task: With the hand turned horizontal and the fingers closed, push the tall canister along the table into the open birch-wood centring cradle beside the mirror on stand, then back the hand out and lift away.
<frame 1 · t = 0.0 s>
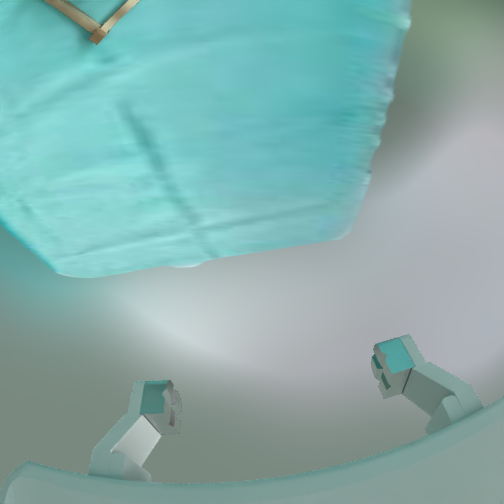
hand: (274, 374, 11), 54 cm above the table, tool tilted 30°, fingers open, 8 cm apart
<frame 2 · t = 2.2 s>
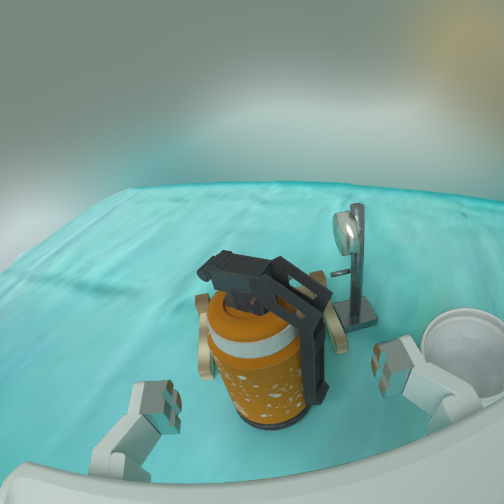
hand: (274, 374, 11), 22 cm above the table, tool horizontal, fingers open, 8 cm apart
ramekin: (455, 385, 28), on the table
canister: (282, 403, 33), on the table
mirror on stand: (354, 316, 42), on the table
cradle: (271, 347, 40), on the table
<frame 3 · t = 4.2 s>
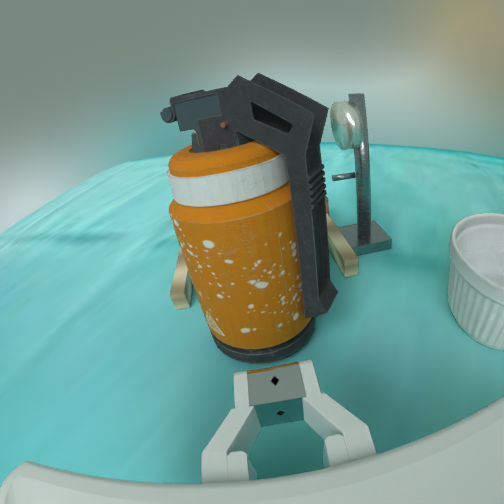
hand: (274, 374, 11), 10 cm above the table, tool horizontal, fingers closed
ramekin: (497, 311, 21), on the table
canister: (275, 332, 26), on the table
mirror on stand: (364, 241, 35), on the table
cradle: (263, 272, 34), on the table
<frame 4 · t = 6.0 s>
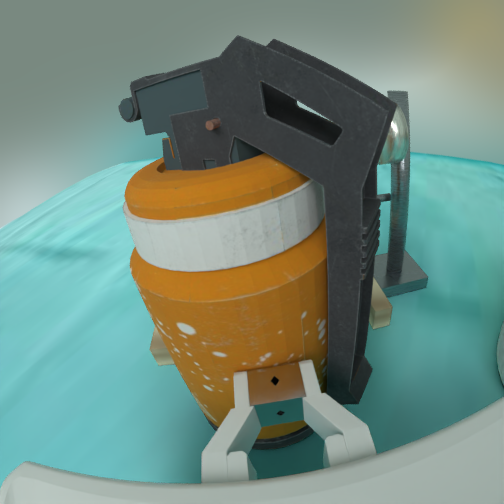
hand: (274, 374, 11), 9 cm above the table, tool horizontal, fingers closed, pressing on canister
canister: (282, 402, 19), on the table, touching gripper
mirror on stand: (393, 277, 28), on the table
cradle: (269, 318, 26), on the table
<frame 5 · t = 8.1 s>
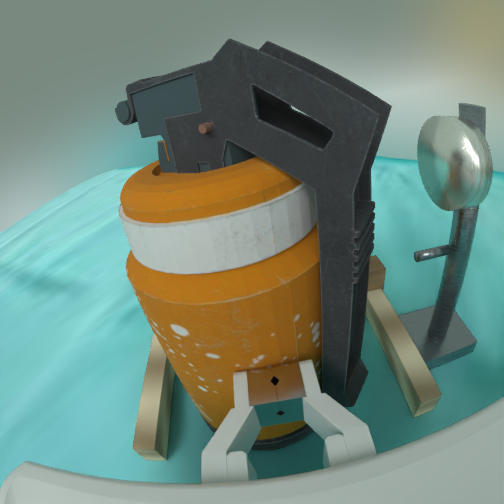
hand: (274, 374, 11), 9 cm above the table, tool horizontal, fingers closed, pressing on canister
canister: (279, 403, 19), on the table, touching gripper
mirror on stand: (434, 339, 20), on the table
cradle: (284, 402, 19), on the table
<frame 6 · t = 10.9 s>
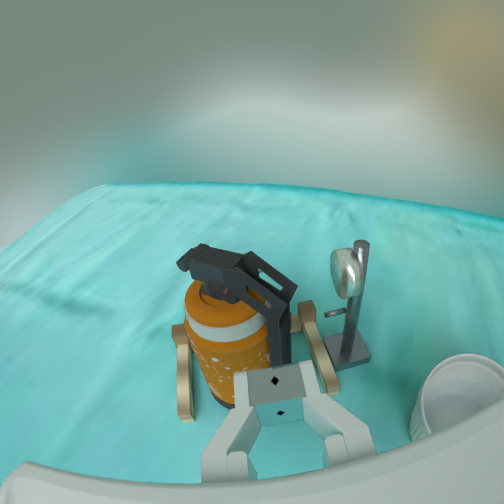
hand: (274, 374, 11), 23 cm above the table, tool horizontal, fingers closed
ramekin: (449, 429, 26), on the table
canister: (253, 386, 36), on the table
mirror on stand: (345, 352, 38), on the table
cradle: (255, 386, 36), on the table
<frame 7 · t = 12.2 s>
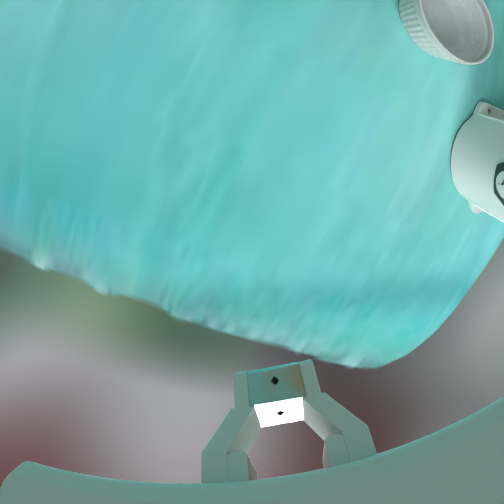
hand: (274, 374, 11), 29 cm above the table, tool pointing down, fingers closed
ramekin: (429, 20, 26), on the table
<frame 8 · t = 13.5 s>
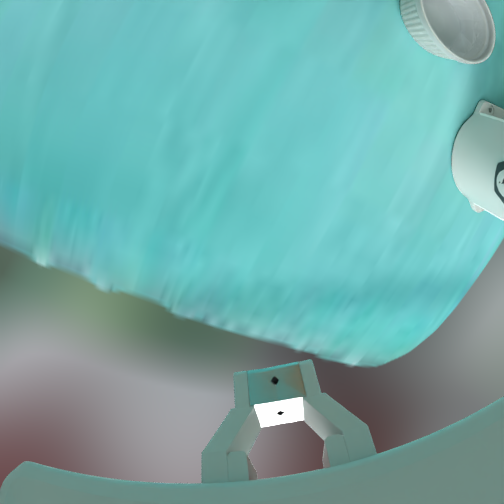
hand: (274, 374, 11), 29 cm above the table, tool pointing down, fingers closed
ramekin: (430, 19, 26), on the table
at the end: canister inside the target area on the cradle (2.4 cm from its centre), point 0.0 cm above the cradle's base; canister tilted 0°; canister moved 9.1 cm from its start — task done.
